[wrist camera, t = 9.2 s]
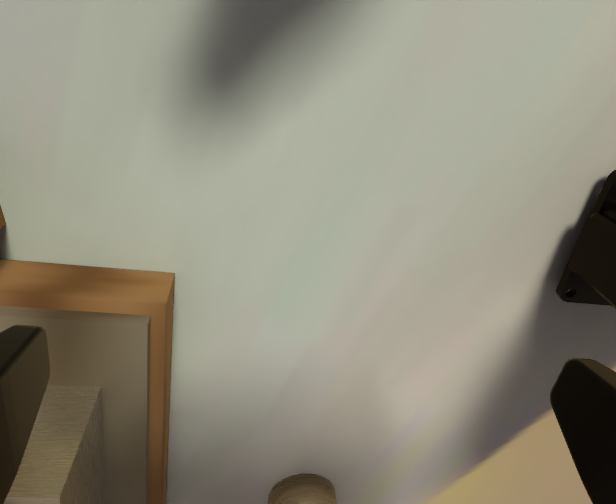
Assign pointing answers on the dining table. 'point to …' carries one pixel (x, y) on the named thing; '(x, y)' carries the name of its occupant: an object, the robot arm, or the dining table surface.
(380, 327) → the dining table surface
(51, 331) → the stand
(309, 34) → the dining table surface
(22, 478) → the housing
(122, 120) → the dining table surface
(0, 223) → the oak block
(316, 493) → the tan rounded piece
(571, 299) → the robot arm
